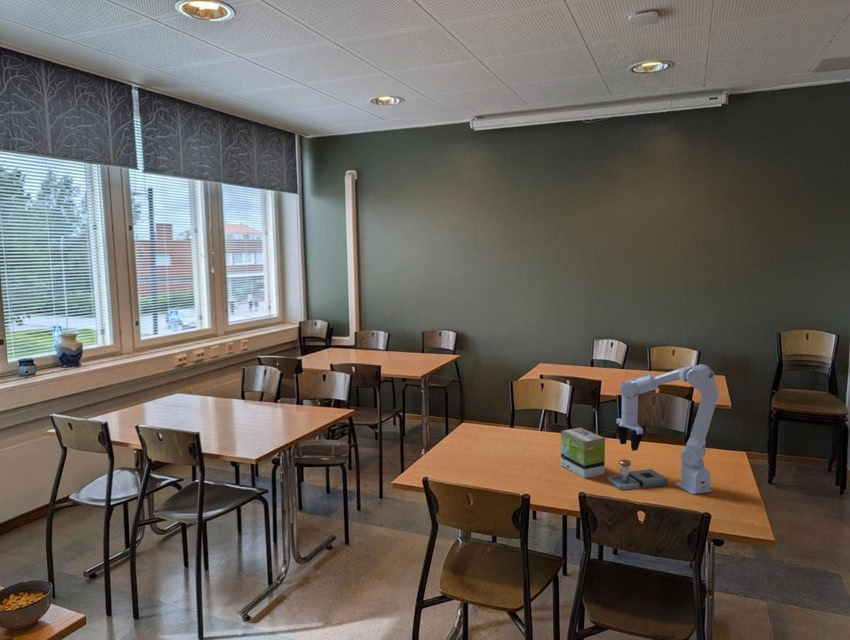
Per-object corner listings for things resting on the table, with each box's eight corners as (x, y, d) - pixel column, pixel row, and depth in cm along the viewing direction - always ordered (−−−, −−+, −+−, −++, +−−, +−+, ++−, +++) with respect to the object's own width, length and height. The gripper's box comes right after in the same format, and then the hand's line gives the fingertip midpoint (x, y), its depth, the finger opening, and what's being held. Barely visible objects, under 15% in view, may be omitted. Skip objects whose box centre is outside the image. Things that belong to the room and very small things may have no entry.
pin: (632, 483, 212) (633, 463, 211) (622, 484, 211) (623, 464, 210) (626, 479, 216) (627, 459, 215) (616, 480, 215) (617, 460, 214)
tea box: (559, 466, 232) (560, 429, 231) (580, 462, 236) (580, 426, 235) (584, 479, 219) (584, 440, 217) (605, 474, 222) (606, 437, 221)
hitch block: (667, 485, 211) (667, 478, 211) (643, 488, 209) (643, 481, 209) (650, 475, 221) (651, 468, 221) (627, 478, 219) (627, 471, 218)
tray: (640, 487, 210) (640, 483, 210) (620, 489, 208) (620, 485, 208) (626, 478, 218) (626, 474, 218) (606, 480, 217) (606, 476, 216)
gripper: (609, 408, 226) (609, 442, 228) (631, 418, 212) (630, 454, 214) (625, 406, 228) (625, 440, 230) (648, 416, 214) (647, 452, 216)
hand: (628, 447), depth 222 cm, fingers open, 7 cm apart
